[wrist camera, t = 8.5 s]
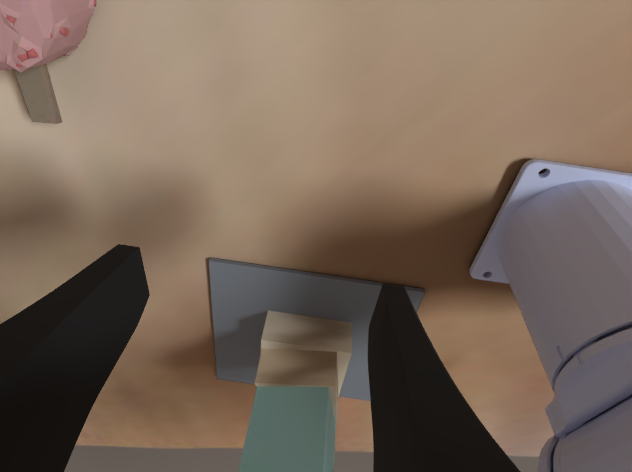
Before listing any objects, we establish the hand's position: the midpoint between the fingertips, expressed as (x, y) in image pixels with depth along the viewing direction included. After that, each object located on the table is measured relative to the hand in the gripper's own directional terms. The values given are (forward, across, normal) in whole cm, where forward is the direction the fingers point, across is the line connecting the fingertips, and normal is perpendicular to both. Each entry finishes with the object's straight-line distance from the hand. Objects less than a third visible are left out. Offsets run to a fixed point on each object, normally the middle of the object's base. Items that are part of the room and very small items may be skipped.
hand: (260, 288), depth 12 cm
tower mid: (+7, -2, +16) cm, 18 cm away
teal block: (+5, -2, +16) cm, 17 cm away
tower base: (+10, -2, +16) cm, 19 cm away
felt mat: (+10, -2, +16) cm, 19 cm away
